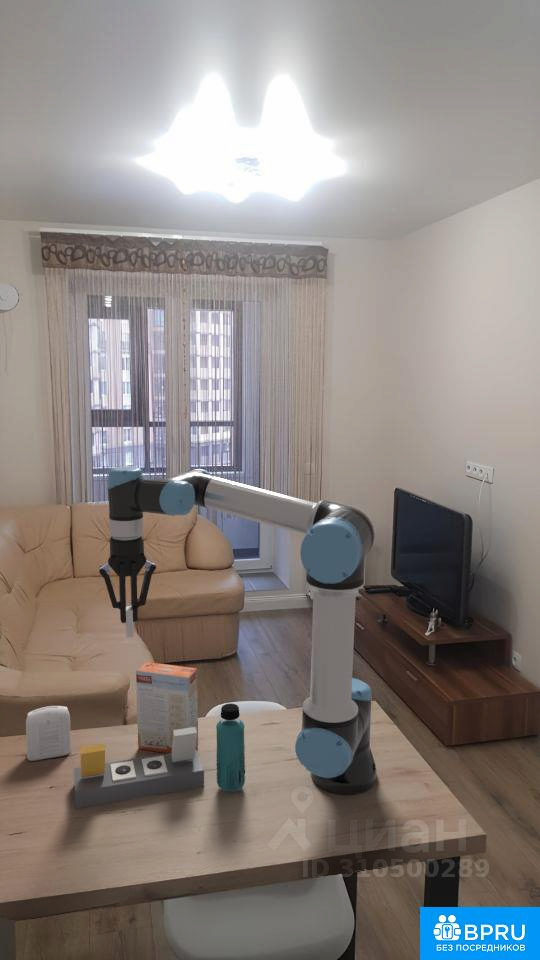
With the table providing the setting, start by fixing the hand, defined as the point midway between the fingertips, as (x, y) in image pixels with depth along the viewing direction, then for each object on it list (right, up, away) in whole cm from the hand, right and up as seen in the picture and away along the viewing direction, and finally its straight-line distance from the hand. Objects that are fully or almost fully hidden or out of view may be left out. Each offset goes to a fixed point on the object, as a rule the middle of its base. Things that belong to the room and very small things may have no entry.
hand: (129, 634), depth 160 cm
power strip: (+3, -33, -3) cm, 34 cm away
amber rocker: (-7, -29, -7) cm, 31 cm away
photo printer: (-21, -31, +9) cm, 39 cm away
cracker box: (+7, -31, +13) cm, 34 cm away
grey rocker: (+12, -28, -1) cm, 31 cm away
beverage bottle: (+24, -34, -4) cm, 42 cm away
